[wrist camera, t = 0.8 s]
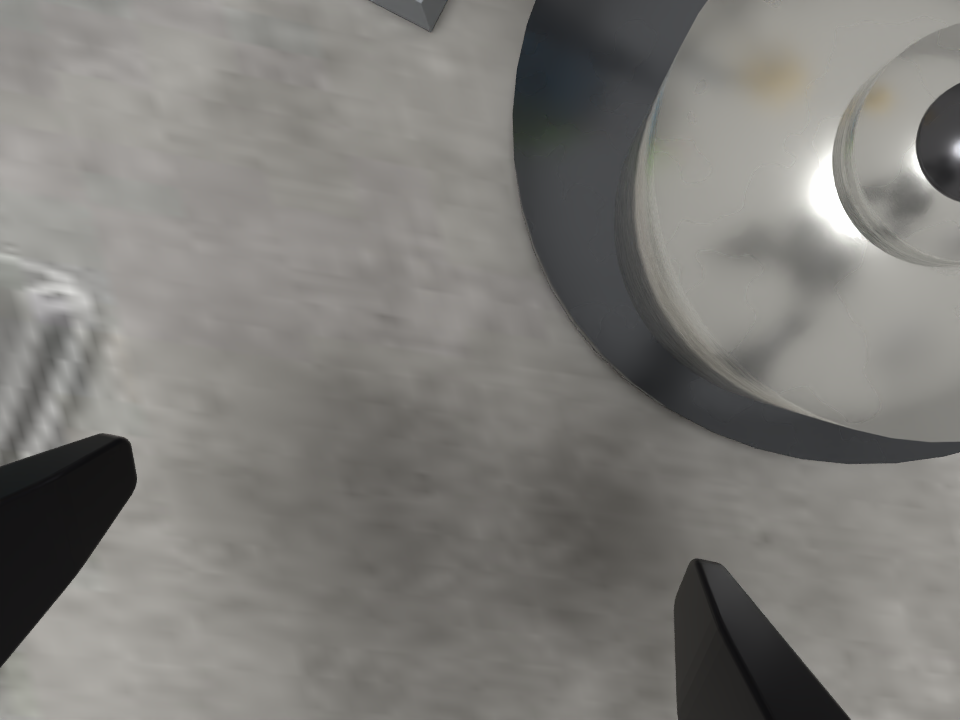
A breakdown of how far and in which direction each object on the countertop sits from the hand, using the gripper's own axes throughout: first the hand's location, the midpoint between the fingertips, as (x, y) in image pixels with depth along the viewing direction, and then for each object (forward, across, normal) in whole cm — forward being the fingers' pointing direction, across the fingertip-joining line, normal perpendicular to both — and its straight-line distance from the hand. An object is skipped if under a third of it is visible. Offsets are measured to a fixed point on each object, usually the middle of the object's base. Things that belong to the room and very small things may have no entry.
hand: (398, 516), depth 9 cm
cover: (+15, -10, -3) cm, 18 cm away
